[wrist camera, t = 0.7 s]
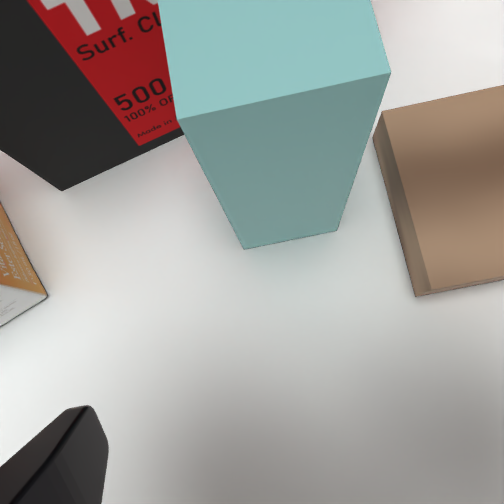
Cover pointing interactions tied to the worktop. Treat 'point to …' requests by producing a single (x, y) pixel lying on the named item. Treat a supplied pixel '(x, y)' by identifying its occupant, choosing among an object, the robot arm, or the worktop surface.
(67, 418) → the robot arm
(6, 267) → the small box
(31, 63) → the cleaning product box
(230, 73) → the teal block
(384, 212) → the worktop surface
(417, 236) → the walnut slab
